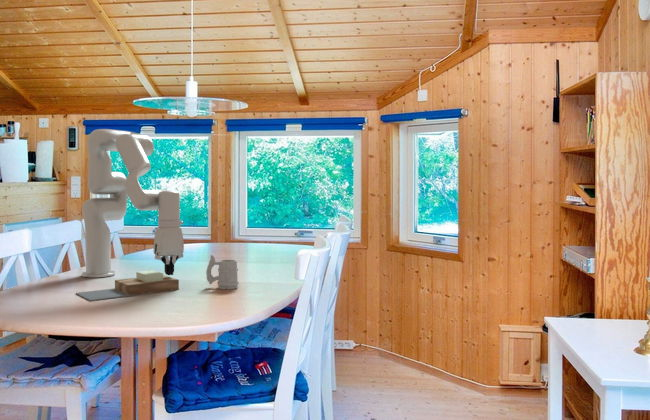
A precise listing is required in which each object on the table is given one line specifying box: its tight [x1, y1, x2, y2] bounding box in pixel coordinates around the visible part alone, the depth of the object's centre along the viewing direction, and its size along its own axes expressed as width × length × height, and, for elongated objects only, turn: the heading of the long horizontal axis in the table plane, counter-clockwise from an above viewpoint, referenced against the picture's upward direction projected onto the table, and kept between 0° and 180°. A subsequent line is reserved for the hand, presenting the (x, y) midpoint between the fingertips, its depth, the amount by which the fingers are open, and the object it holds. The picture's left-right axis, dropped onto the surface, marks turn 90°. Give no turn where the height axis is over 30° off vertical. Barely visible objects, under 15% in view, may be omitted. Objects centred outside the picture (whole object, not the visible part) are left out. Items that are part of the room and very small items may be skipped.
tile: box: [135, 269, 164, 282], centre depth 200 cm, size 9×6×2 cm, turn 41°
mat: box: [75, 287, 134, 302], centre depth 190 cm, size 15×14×1 cm
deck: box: [114, 274, 180, 296], centre depth 200 cm, size 13×18×4 cm
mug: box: [205, 254, 240, 290], centre depth 205 cm, size 8×12×12 cm, turn 91°
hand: (169, 274), depth 205 cm, fingers closed
